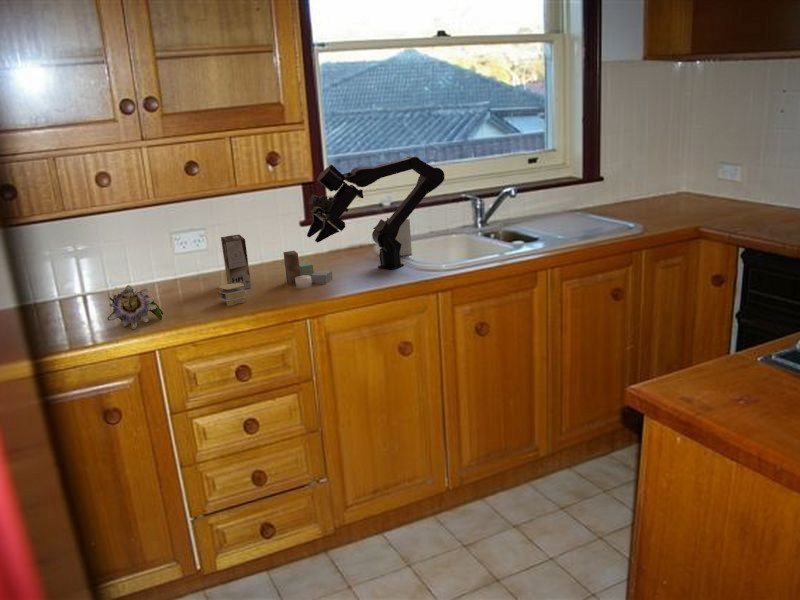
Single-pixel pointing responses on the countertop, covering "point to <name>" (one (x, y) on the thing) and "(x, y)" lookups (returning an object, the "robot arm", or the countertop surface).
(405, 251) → the small box
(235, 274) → the coffee box
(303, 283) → the white tub
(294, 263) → the walnut block
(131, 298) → the passion flower
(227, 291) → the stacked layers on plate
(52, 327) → the countertop surface
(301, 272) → the green block
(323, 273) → the grey block
